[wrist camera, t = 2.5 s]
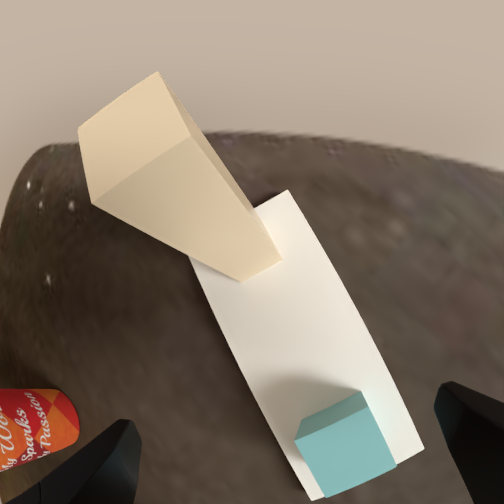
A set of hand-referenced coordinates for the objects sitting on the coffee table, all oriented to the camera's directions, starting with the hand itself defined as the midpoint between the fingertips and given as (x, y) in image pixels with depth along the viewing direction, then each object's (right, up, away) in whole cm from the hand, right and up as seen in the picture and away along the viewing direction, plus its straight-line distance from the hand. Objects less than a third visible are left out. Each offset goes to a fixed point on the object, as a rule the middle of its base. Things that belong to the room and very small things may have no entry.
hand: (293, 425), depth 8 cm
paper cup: (-19, -11, +15) cm, 26 cm away
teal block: (+5, -6, +9) cm, 12 cm away
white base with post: (+2, -2, +12) cm, 12 cm away
